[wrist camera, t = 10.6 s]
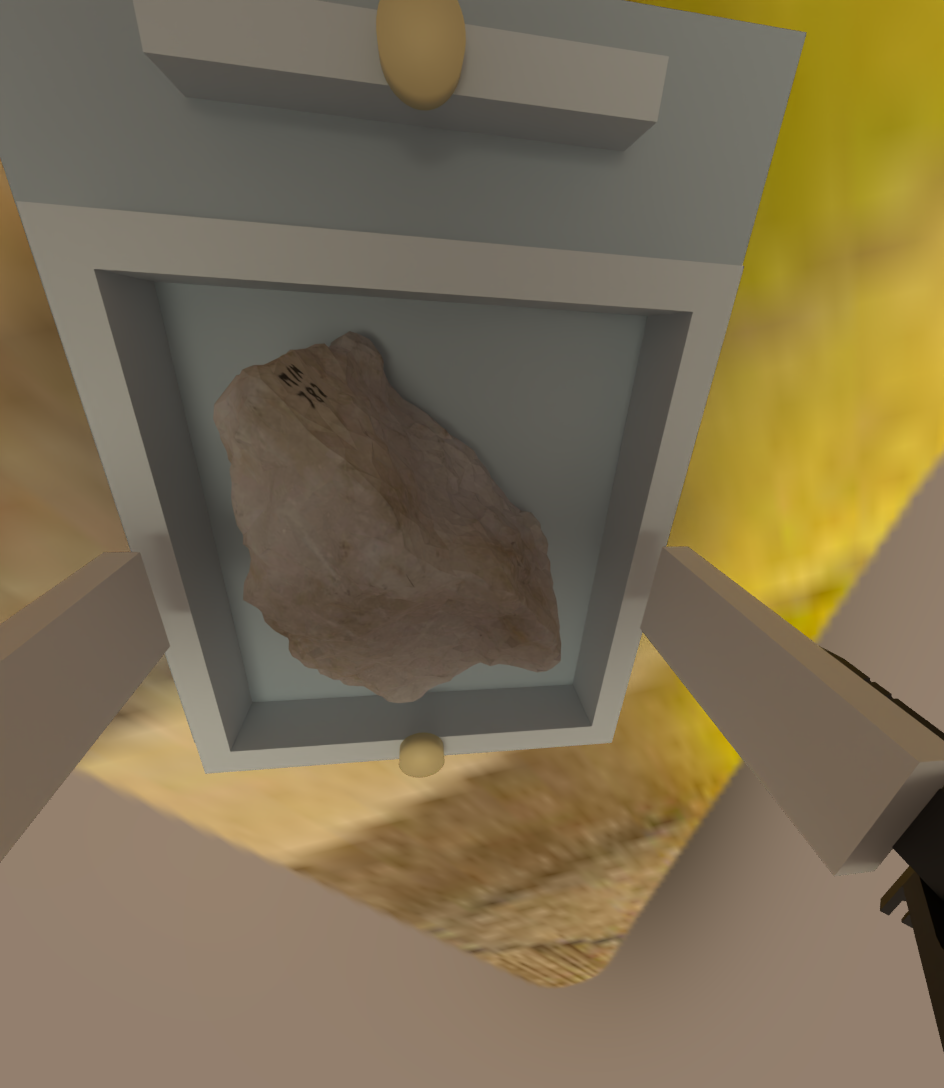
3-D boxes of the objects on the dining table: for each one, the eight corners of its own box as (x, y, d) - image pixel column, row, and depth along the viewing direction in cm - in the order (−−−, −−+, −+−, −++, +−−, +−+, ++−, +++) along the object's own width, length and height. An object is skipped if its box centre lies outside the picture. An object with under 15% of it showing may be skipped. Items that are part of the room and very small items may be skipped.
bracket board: (-31, -69, 9) (-348, -358, 5) (768, 62, 11) (939, -70, 7) (207, 718, 18) (157, 812, 14) (607, 695, 20) (648, 770, 17)
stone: (374, 665, 16) (352, 818, 11) (170, 447, 12) (-18, 525, 7) (559, 564, 15) (632, 679, 10) (406, 288, 11) (394, 239, 6)
